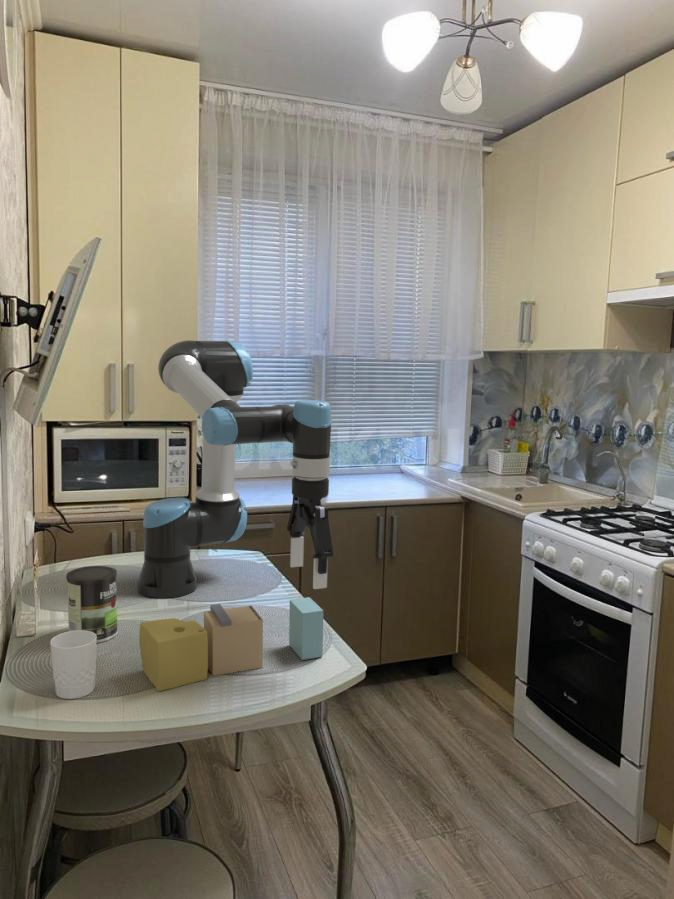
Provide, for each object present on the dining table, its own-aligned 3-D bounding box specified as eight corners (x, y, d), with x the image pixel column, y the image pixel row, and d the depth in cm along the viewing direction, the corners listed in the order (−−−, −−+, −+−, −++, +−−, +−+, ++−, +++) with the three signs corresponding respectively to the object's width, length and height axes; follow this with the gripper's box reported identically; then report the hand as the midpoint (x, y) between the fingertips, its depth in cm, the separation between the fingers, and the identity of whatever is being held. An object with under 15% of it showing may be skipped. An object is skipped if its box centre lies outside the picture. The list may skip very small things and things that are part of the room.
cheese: (190, 659, 139) (189, 612, 138) (210, 681, 130) (210, 631, 129) (139, 671, 133) (138, 622, 132) (156, 694, 124) (156, 642, 123)
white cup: (91, 700, 122) (89, 647, 120) (45, 701, 121) (43, 648, 120) (102, 679, 129) (101, 629, 128) (60, 680, 129) (58, 630, 127)
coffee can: (126, 627, 154) (125, 567, 151) (102, 646, 144) (100, 582, 141) (85, 623, 156) (83, 563, 154) (58, 641, 146) (56, 578, 144)
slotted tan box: (203, 657, 140) (203, 606, 138) (250, 649, 144) (250, 600, 142) (213, 677, 131) (213, 622, 130) (263, 668, 135) (263, 616, 134)
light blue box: (289, 644, 146) (289, 599, 145) (308, 641, 148) (309, 597, 147) (302, 660, 139) (302, 613, 138) (322, 656, 141) (323, 610, 139)
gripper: (274, 466, 148) (272, 559, 152) (315, 491, 126) (312, 600, 129) (306, 464, 151) (303, 556, 155) (352, 488, 129) (348, 595, 132)
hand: (307, 576), depth 142 cm, fingers open, 13 cm apart
